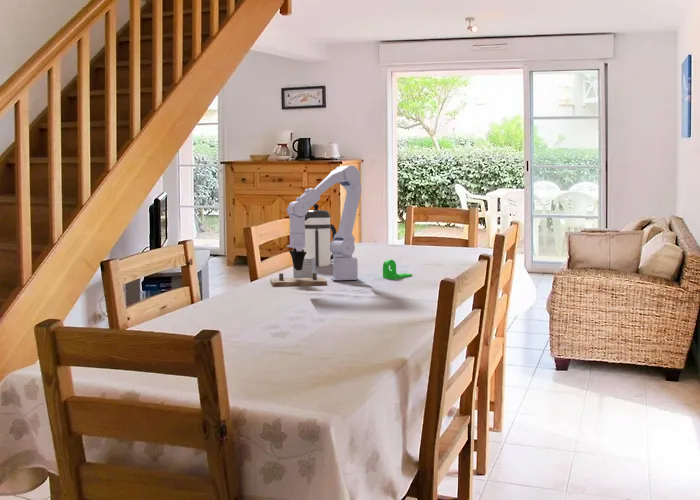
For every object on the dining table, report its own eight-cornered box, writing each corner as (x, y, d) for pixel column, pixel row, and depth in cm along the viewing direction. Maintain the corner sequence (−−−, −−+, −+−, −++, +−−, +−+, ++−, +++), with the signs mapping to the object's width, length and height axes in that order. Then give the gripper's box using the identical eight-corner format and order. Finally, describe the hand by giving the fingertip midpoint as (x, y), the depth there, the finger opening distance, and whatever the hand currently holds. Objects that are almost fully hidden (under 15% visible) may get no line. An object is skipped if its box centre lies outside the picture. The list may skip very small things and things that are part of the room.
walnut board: (321, 281, 300) (321, 270, 300) (327, 285, 285) (326, 274, 285) (270, 282, 297) (270, 272, 297) (272, 286, 282) (272, 275, 282)
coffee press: (335, 273, 330) (335, 203, 328) (298, 274, 330) (297, 203, 328) (337, 270, 347) (336, 203, 345) (301, 270, 347) (300, 203, 346)
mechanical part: (393, 281, 300) (393, 260, 299) (382, 280, 304) (382, 259, 303) (414, 279, 308) (414, 259, 307) (403, 278, 312) (403, 258, 312)
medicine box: (315, 279, 308) (315, 257, 308) (312, 280, 304) (311, 258, 304) (296, 278, 311) (296, 257, 310) (293, 279, 306) (292, 258, 306)
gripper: (285, 232, 296) (285, 268, 297) (288, 234, 282) (288, 271, 283) (303, 232, 297) (304, 267, 298) (307, 233, 283) (308, 270, 284)
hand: (297, 269), depth 291 cm, fingers open, 7 cm apart
